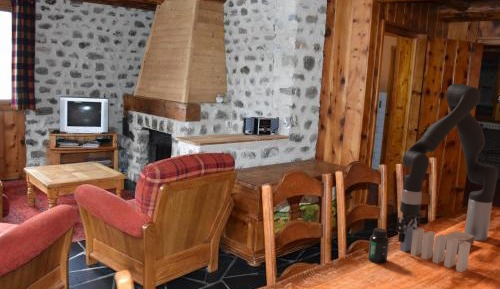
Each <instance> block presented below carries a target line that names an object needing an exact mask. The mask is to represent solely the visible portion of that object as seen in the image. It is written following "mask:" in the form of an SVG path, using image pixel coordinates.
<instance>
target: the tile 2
mask: <svg viewBox="0 0 500 289" xmlns="http://www.w3.org/2000/svg"><path fill="white" fill-rule="evenodd" d="M424 233H425V228H422V227H417V229H415V230H413V236H412V245H411V250H410V255H412V256H414V257H415V256H418V255H420V254H422V247H423V238H424Z"/></svg>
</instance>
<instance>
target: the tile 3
mask: <svg viewBox="0 0 500 289" xmlns="http://www.w3.org/2000/svg"><path fill="white" fill-rule="evenodd" d="M435 237H436V232H435V231H432V230H429V231H427V232H424V236H423V244H422V253H421V255H420V257H421V259H423V260H428V259H430V258H433V252H434V244H435Z"/></svg>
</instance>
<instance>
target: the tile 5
mask: <svg viewBox="0 0 500 289" xmlns="http://www.w3.org/2000/svg"><path fill="white" fill-rule="evenodd" d="M457 246H458V239H455V238H452V239H449V240H447V245H446V250H445V252H444V260H443V267H446V268H447V269H448V268H449V269H450V268H451V267H454V266H455V265H456V263H457V255H458V252H457Z"/></svg>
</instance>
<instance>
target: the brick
mask: <svg viewBox="0 0 500 289" xmlns="http://www.w3.org/2000/svg"><path fill="white" fill-rule="evenodd" d="M444 235H445V236H446V244H445V251H446V245H447V240H449V239H452V238H455V239H458V246H457V253H458V250H459V244H461V243H463V242H468V243H471V244H470V247H471V246H473V244H474V242H475V240H474V238H475V237H474V236H473V235H470V234H467V233H465V232H462V231H458V230H454V231H452V232H450V233H448V234H444Z"/></svg>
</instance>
